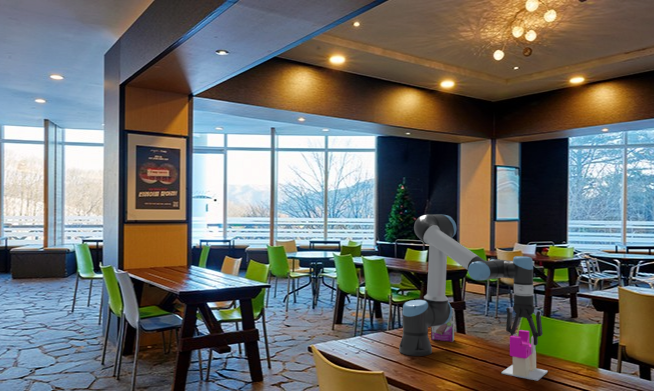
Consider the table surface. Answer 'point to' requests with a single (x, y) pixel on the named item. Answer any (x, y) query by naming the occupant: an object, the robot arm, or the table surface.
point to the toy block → (520, 345)
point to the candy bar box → (444, 331)
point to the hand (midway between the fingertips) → (524, 351)
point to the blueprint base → (531, 376)
